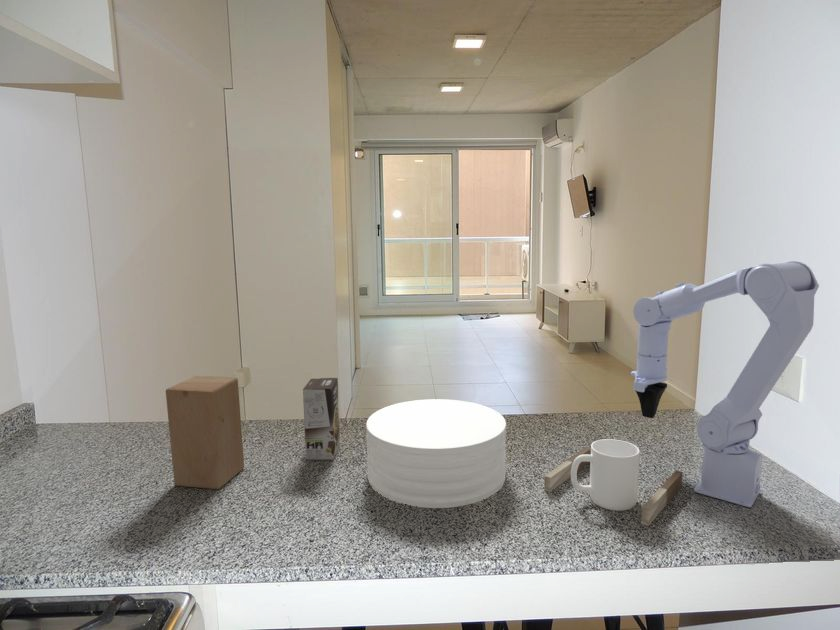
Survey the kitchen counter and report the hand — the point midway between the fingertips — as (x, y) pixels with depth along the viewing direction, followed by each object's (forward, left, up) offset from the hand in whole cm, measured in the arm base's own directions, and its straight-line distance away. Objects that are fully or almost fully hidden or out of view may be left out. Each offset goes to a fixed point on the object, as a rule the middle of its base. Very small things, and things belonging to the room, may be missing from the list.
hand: (648, 416), depth 117 cm
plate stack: (+30, +34, -10) cm, 47 cm away
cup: (0, +23, -10) cm, 25 cm away
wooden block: (+65, +65, -10) cm, 92 cm away
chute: (0, +18, -9) cm, 20 cm away
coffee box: (+57, +42, -10) cm, 71 cm away
